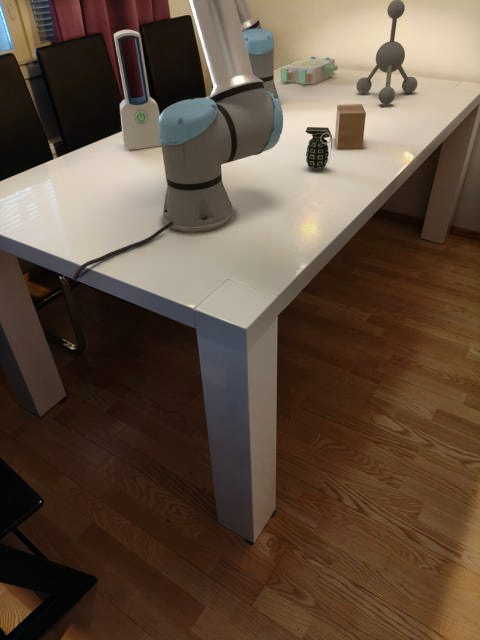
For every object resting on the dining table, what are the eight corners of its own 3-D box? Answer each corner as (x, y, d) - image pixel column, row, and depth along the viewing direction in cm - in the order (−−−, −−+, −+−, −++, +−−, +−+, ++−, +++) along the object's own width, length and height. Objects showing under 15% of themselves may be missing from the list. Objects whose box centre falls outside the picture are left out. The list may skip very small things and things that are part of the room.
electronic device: (125, 150, 145) (103, 35, 126) (123, 143, 151) (101, 31, 132) (166, 145, 147) (150, 30, 129) (163, 137, 153) (147, 27, 134)
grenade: (303, 171, 125) (304, 132, 119) (306, 163, 129) (307, 125, 123) (329, 173, 124) (331, 132, 117) (331, 164, 128) (333, 125, 122)
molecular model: (436, 99, 173) (455, -2, 154) (383, 108, 167) (396, 4, 148) (396, 85, 190) (408, -7, 172) (347, 93, 184) (354, -1, 166)
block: (362, 148, 137) (366, 112, 131) (337, 149, 138) (339, 113, 132) (358, 138, 144) (362, 104, 138) (334, 139, 144) (337, 104, 139)
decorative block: (303, 54, 216) (344, 57, 207) (302, 70, 220) (342, 74, 211) (271, 65, 200) (314, 69, 191) (271, 82, 204) (314, 87, 195)
